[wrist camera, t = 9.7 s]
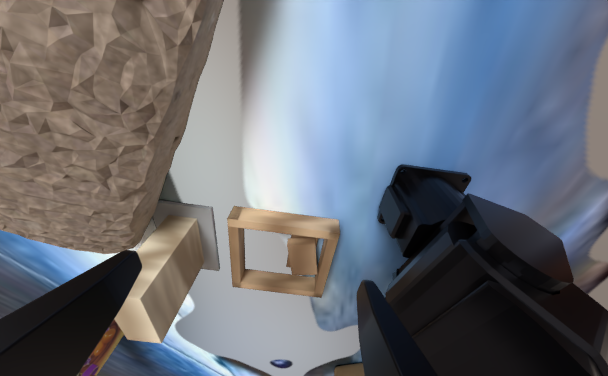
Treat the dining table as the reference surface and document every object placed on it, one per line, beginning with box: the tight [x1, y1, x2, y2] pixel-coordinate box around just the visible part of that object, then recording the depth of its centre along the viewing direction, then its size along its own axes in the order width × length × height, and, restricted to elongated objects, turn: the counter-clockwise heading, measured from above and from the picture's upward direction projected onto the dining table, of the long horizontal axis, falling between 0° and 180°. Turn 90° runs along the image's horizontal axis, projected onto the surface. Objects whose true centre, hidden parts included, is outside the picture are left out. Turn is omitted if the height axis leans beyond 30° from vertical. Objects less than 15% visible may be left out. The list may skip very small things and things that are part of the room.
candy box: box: [77, 319, 124, 376], centre depth 31 cm, size 9×4×15 cm, turn 173°
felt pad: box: [153, 200, 220, 271], centre depth 26 cm, size 6×10×1 cm, turn 173°
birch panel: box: [115, 215, 204, 343], centre depth 22 cm, size 3×7×9 cm, turn 173°
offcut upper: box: [287, 238, 317, 275], centre depth 26 cm, size 3×5×1 cm, turn 5°
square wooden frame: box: [227, 206, 340, 298], centre depth 25 cm, size 11×11×2 cm
